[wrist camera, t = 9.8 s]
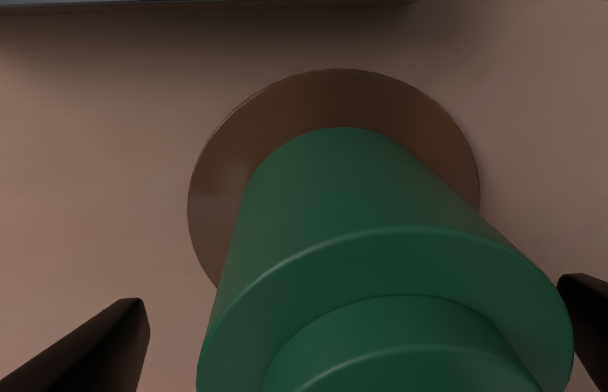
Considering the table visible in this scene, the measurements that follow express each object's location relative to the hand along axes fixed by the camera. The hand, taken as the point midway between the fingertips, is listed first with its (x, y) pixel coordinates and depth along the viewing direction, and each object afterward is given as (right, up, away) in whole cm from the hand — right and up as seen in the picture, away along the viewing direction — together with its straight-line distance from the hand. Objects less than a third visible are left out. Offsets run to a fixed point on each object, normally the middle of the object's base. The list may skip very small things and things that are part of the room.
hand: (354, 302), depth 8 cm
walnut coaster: (0, +2, +4) cm, 4 cm away
